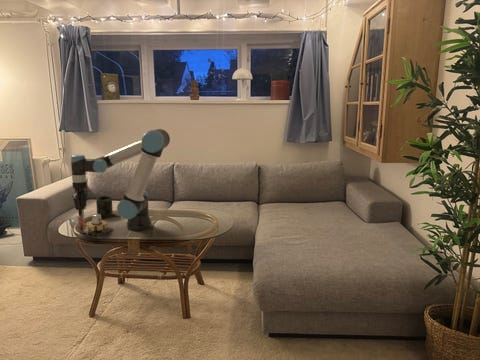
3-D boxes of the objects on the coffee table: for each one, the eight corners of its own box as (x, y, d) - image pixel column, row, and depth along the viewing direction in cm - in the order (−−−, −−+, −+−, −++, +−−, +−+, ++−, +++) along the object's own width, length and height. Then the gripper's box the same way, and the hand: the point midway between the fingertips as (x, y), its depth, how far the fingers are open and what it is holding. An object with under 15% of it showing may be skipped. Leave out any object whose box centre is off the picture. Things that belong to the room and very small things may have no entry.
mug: (115, 212, 261) (115, 196, 258) (106, 219, 246) (106, 201, 244) (100, 212, 261) (100, 195, 259) (91, 218, 247) (90, 201, 245)
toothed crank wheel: (108, 225, 230) (108, 211, 228) (106, 231, 218) (106, 217, 217) (80, 226, 226) (79, 213, 225) (77, 233, 215) (76, 219, 213)
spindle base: (113, 229, 227) (112, 213, 225) (95, 237, 213) (94, 220, 211) (96, 226, 231) (96, 211, 229) (78, 233, 218) (77, 217, 216)
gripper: (79, 178, 223) (81, 216, 228) (66, 183, 211) (69, 222, 216) (91, 179, 222) (93, 216, 227) (79, 184, 210) (81, 223, 215)
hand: (81, 219), depth 221 cm, fingers closed
